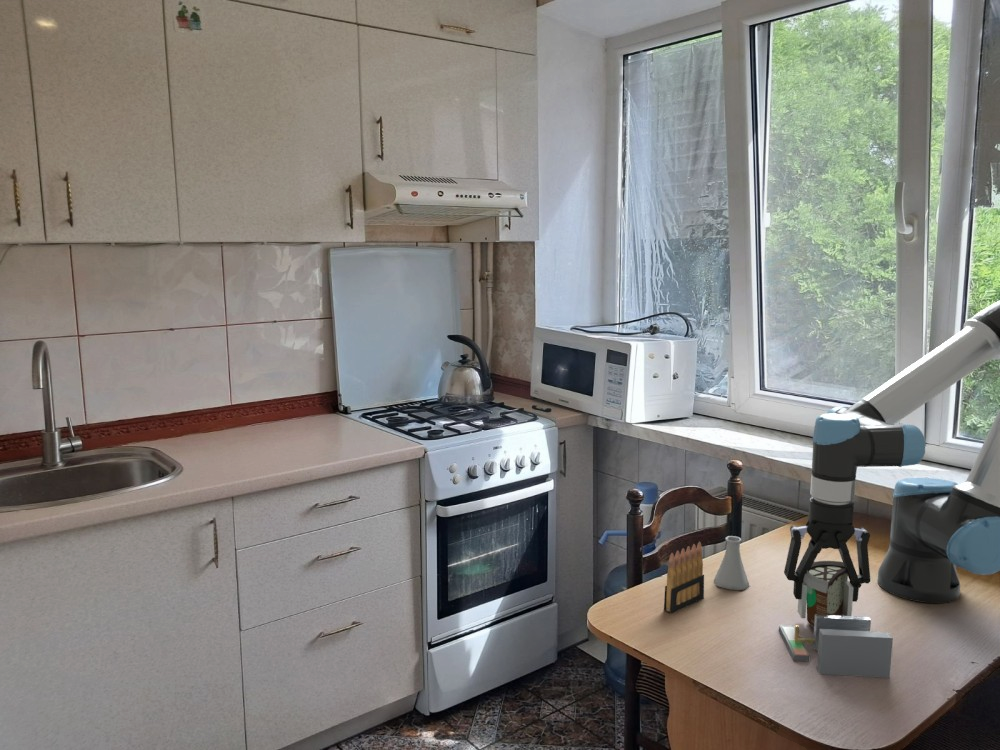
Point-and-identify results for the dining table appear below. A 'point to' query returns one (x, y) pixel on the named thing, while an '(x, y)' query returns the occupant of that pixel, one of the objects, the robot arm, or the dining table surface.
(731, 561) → the flask
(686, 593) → the ammunition clip
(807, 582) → the food container
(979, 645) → the dining table surface
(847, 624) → the plate
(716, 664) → the dining table surface
